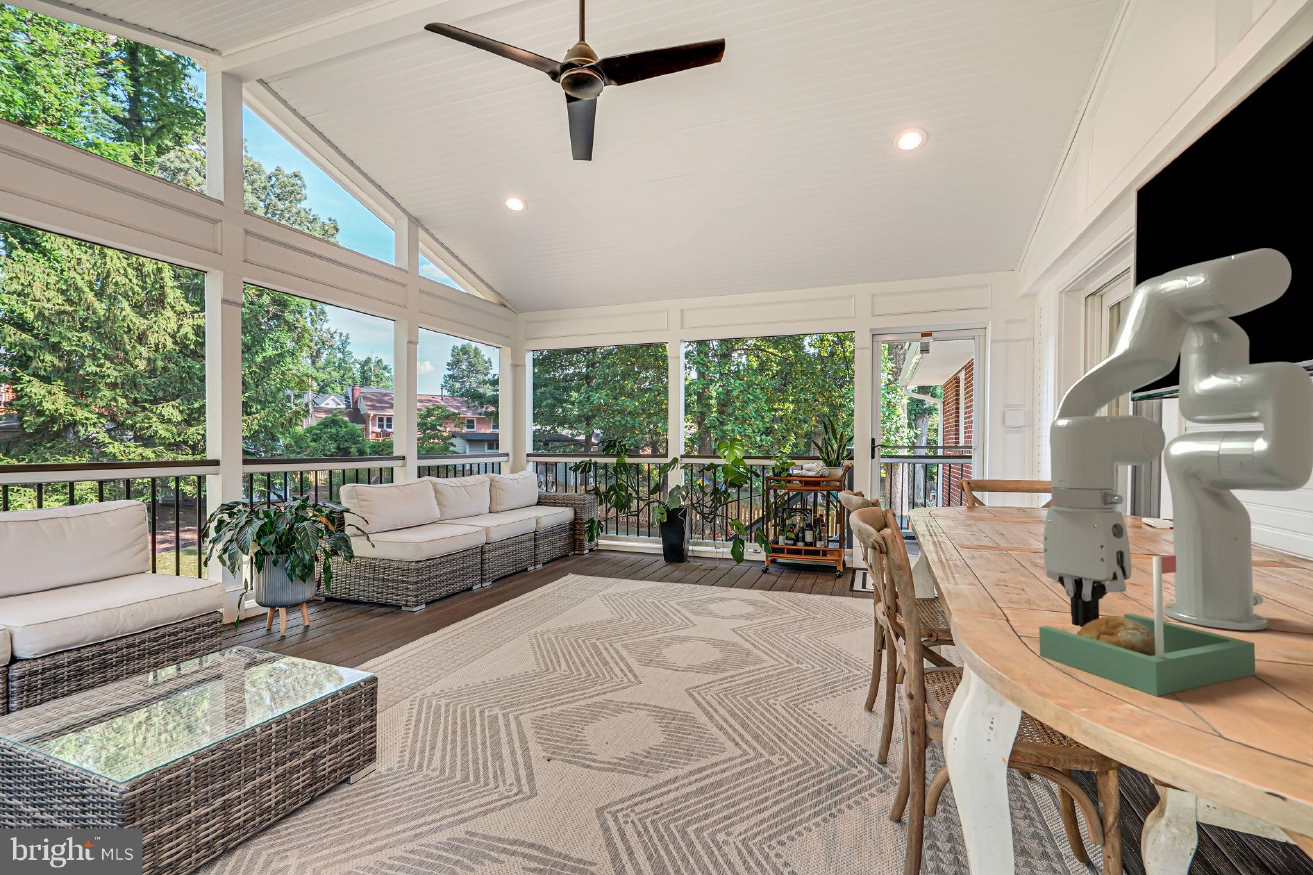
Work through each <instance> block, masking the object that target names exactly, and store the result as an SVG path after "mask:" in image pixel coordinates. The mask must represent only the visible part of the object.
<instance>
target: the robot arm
mask: <svg viewBox="0 0 1313 875" xmlns="http://www.w3.org/2000/svg"><path fill="white" fill-rule="evenodd" d="M1291 280H1292V268H1291V264H1290V262H1289V260H1288V258H1287V257H1286V256H1285V255H1284V254H1283V253H1282V252H1280V251H1279V250H1276V249H1273V248H1267V247H1265V248H1258V249H1254V250H1250V251H1245V252H1241V253H1240V252H1239V253H1237V254H1232V255H1229V256H1225V257H1220V258H1215V259H1213V260H1212V259H1211V260H1207V261H1202V262H1198V263H1194V264H1191V265H1187V266H1183V267H1179V268H1176V269H1173V270H1170V271H1168V272H1165V273H1163V274H1162V275H1158V276H1154V277H1151V278H1149V279H1146V280H1145V281H1142V282H1141V283H1139V284H1138V285H1137V286H1136V287H1134V288H1133V290H1132V292H1131V293H1130V295H1129V297H1128V301H1127V303H1126V306H1125V308H1124V311H1123V313H1122V317H1121V320H1120V322H1119V326H1118V328H1117V331H1116V334H1115V337H1114V339H1113V342H1112V344H1111V347H1110V350H1109V353H1108V355H1107V356H1106V357H1105V358H1104V359H1102V360H1101V361H1100V362H1099V363H1097V364H1096V365H1094V366H1093V367H1092V368H1090V369H1089V371H1087V372H1086V373H1085V374H1084V375H1082V377H1080V378H1079V379H1078V380H1077V381H1076V382H1075V383H1074V384H1073V385H1072V386H1071V387H1070V388H1069V389H1068V390H1067V391H1066V392H1065V394H1064V396H1063V397H1062V398H1061V401H1060V402H1059V405H1058V407H1057V410H1056V412H1055V415H1054V419H1053V421H1052V422H1051V424H1050V427H1049V428H1050V429H1049V446H1050V449H1049V450H1050V484H1051V487H1050V488H1051V489H1050V490H1051V491H1050V492H1051V506H1049V507H1048V508H1047V513H1046V517H1045V522H1044V530H1043V541H1042V542H1043V543H1042V544H1043V546H1042V547H1043V548H1042V550H1043V551H1042V557H1043V558H1042V559H1043V564H1044V567H1045V568H1046V569H1047V570H1046V574H1045V575H1046V576H1047V577H1048V578H1049V579H1051V580H1054V581H1056V582H1058V583H1059V584H1060V585H1061V586H1062V588H1064V590H1065V594H1066V596H1067V597H1069V598H1070V616H1071V624H1072V625H1073V626H1077V627H1080V628H1082V627H1083V626H1084V625H1085V624H1087V623H1088V622H1091V621H1093V620H1096V619H1099V618H1100V602H1099V601H1100V600H1103V599H1104V596H1106V595H1107V594H1109V593H1123V592H1126V590H1127V586H1126V585H1127V584H1126V582H1125V581H1126V580H1129V579H1130V578H1131V577H1132V558H1131V550H1130V542H1129V535H1128V531H1127V526H1126V523H1125V519H1124V516H1123V513H1122V511H1118V510H1117V511H1116V505H1121V504H1122V503H1123V501H1124V497H1123V496H1122V495H1121V494H1116V489H1115V468H1114V466H1141V465H1145V464H1148V463H1151V462H1153V461H1155V460H1156V459H1158V457H1159V456H1161V454H1162V453H1163V465H1164V470H1165V472H1166V476H1167V479H1168V484H1169V490H1170V495H1171V503H1172V504H1171V505H1172V506H1171V507H1172V529H1173V530H1172V531H1173V534H1172V535H1173V537H1172V538H1173V555H1175V556H1176V572H1173V573H1174V574H1173V575H1174V600H1175V601H1174V603H1169V604H1165V605H1163V614H1165V615H1166V616H1168V617H1170V618H1172V619H1174V620H1178V621H1181V622H1184V623H1189V624H1193V625H1198V626H1204V627H1209V628H1216V629H1217V628H1218V629H1224V630H1225V629H1226V630H1233V631H1234V630H1236V631H1260V630H1264V629H1267V628H1268V626H1269V625H1268V619H1266V618H1265V617H1264V616H1262V615H1259V614H1257V613H1254V607H1255V606H1260V605H1262V604H1263V603H1264V598H1263V597H1262V596H1261V595H1260V594H1258V593H1254V590H1253V589H1254V587H1253V586H1254V585H1253V560H1252V559H1253V558H1252V556H1253V554H1252V552H1253V551H1252V549H1253V548H1252V524H1251V523H1252V522H1251V517H1250V513H1249V511H1248V510H1247V508H1246V507H1245V506H1244V504H1243V503H1242V501H1240V500H1239V499H1238V498H1237V496H1236V495H1235V494H1234V493H1233V492H1232V491H1231V490H1233V491H1234V490H1235V491H1236V490H1238V491H1239V490H1240V491H1241V490H1242V491H1261V492H1262V491H1263V492H1291V491H1295V490H1299V489H1301V488H1303V487H1304V486H1306V485H1307V483H1308V482H1309V481H1310V479H1311V475H1312V472H1313V379H1312V378H1311V376H1310V374H1309V373H1308V370H1306V369H1305V368H1304V367H1302V366H1301V365H1299V364H1297V363H1294V362H1288V361H1273V362H1262V363H1252V364H1250V339H1249V336H1248V335H1247V333H1246V332H1245V330H1244V329H1243V328H1242V327H1241V326H1240V325H1239V324H1237V323H1236V322H1235V321H1234V320H1232V319H1230V318H1231V317H1235V316H1240V315H1243V314H1246V313H1248V312H1252V311H1254V310H1256V309H1259V308H1261V307H1264V306H1266V305H1268V304H1271V303H1273V302H1275V301H1276V300H1279V298H1280V297H1282V296H1283V295H1284V293H1285V292H1286V291H1287V289H1288V288H1289V286H1290V283H1291ZM1179 357H1180V363H1179V379H1178V380H1179V382H1178V383H1179V385H1178V406H1179V407H1178V408H1179V412H1180V414H1181V416H1182V417H1183V419H1185V420H1186V421H1188V422H1190V423H1194V424H1200V425H1201V424H1202V425H1228V424H1229V425H1230V424H1235V425H1236V424H1257V423H1258V424H1263V426H1262V427H1263V430H1225V431H1224V430H1221V431H1220V430H1217V431H1196V432H1190V433H1189V432H1188V433H1184V434H1181V435H1178V436H1176V437H1174V438H1172V439H1171V440H1170V441H1169V442H1168V443H1167V445H1166V441H1167V439H1166V434H1165V432H1164V430H1163V428H1162V427H1161V425H1160V424H1159V423H1158V422H1156V421H1155V420H1153V419H1151V418H1149V417H1147V416H1144V415H1136V414H1135V415H1134V414H1133V415H1132V414H1131V415H1129V414H1127V415H1104V416H1097V414H1098V413H1099V412H1100V411H1101V410H1102V409H1103V408H1104V407H1105V406H1106V405H1108V404H1109V403H1111V402H1112V401H1115V400H1116V399H1118V398H1120V397H1122V396H1125V395H1126V394H1128V393H1131V392H1133V391H1136V390H1138V389H1141V388H1142V387H1144V386H1145V387H1146V386H1147V385H1150V384H1152V383H1154V382H1156V381H1158V380H1160V379H1162V378H1164V377H1166V376H1167V375H1169V374H1170V373H1171V372H1172V371H1173V370H1174V369H1175V367H1176V365H1177V364H1178V363H1177V362H1178V359H1179Z"/></svg>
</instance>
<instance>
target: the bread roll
mask: <svg viewBox="0 0 1313 875" xmlns="http://www.w3.org/2000/svg"><path fill="white" fill-rule="evenodd" d="M1076 634H1077V635H1080V636H1083V637H1087V638H1090V639H1093V640H1097V641H1100V642H1104V643H1107V644H1110V645H1114V646H1117V647H1121V648H1124V649H1127V650H1131V651H1134V652H1138V653H1141V654H1144V655H1148V656H1154V655H1155V634H1154V633H1153V632H1152V631H1151V630H1150V629H1149V628H1147V627H1146V626H1144V625H1143V624H1141V623H1139V622H1136V621H1134V620H1131V619H1128V618H1124V616H1123V617H1121V616H1114V615H1113V616H1112V615H1111V616H1103V617H1099V619H1096V620H1093V621H1091V622H1088V623H1087V624H1085V625H1084V626H1083V627H1080V630H1079V631H1077V632H1076ZM1164 648H1165V647H1164ZM1164 653H1165V650H1164Z"/></svg>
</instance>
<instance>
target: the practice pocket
mask: <svg viewBox="0 0 1313 875" xmlns="http://www.w3.org/2000/svg"><path fill="white" fill-rule="evenodd" d="M1174 572H1176V556H1175V555H1174V554H1173V555H1165V556H1152V581H1153V585H1152V586H1153V613H1154V614H1153V616H1154V618H1151V617H1147V616H1144V615H1139V614H1134V613H1125V614H1123V618H1128V619H1131V620H1134V621H1136V622H1139V623H1141V624H1143V625H1144V626H1146V627H1147V628H1149V629H1150V630H1151V631H1152V632H1153V633H1154V634H1155V655H1154V656H1148V655H1144V654H1141V653H1138V652H1134V651H1131V650H1127V649H1124V648H1121V647H1117V646H1114V645H1110V644H1107V643H1104V642H1100V641H1097V640H1093V639H1090V638H1087V637H1083V636H1080V635H1077V633H1072V632H1069V631H1066V630H1063V629H1060V628H1056V627H1053V626H1050V625H1049V626H1048V625H1044V626H1043V625H1042V626H1039V627H1038V629H1039V630H1038V631H1039V633H1038V634H1039V635H1038V636H1039V656H1041V657H1044V658H1046V659H1048V660H1052V661H1055V662H1058V663H1061V664H1063V665H1066V666H1069V667H1072V668H1075V669H1077V670H1080V671H1083V672H1086V673H1089V674H1092V675H1095V676H1098V677H1101V678H1103V679H1107V680H1109V681H1112V682H1114V683H1117V684H1121V685H1123V686H1127V687H1129V688H1131V689H1135V690H1138V691H1140V692H1143V693H1146V694H1149V695H1151V696H1155V697H1159V696H1164V695H1168V694H1173V693H1179V692H1182V691H1183V692H1184V691H1187V690H1192V689H1196V688H1200V687H1204V686H1210V685H1215V684H1218V683H1224V682H1227V681H1233V680H1236V679H1241V678H1245V677H1246V678H1247V677H1250V676H1253V675H1256V651H1255V649H1256V648H1255V647H1256V646H1255V642H1252V641H1248V640H1243V639H1239V638H1235V637H1231V636H1226V635H1223V634H1219V633H1215V632H1210V631H1206V630H1202V629H1198V628H1193V627H1189V626H1185V625H1180V624H1177V623H1174V622H1173V623H1172V622H1168V621H1164V603H1163V599H1164V598H1163V597H1164V596H1163V574H1170V573H1171V574H1173V573H1174ZM1164 647H1165V648H1164ZM1164 650H1165V653H1164Z"/></svg>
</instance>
